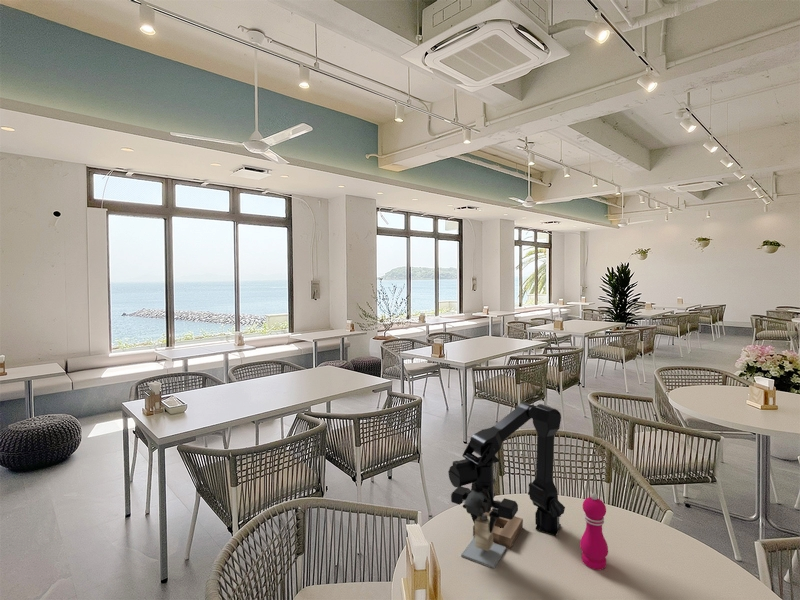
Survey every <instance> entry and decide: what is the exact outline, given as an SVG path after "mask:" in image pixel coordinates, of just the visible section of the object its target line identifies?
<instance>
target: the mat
mask: <svg viewBox="0 0 800 600" xmlns="http://www.w3.org/2000/svg"><path fill="white" fill-rule="evenodd" d="M506 550H507V547H506V546H503V545H500V544H497V543H494V542H493V545H492V547H491V548H490V550H489V551H486V550H483V549H480V548H477V547H475V536H473V538H472V540H471V541H470V542H469V543H468V544H467V546H466V547H465V549H464V550H463V551H462V553H461V555H460V556H461V558H465V559H467V560H470V561H473V562H475V563H478V564H480V565H484V566H486V567H489V568H491V569H495V568H496V566H497V565H498V563H499V562H500V560H501V558H502V556H503V555H504V554H505V551H506Z"/></svg>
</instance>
